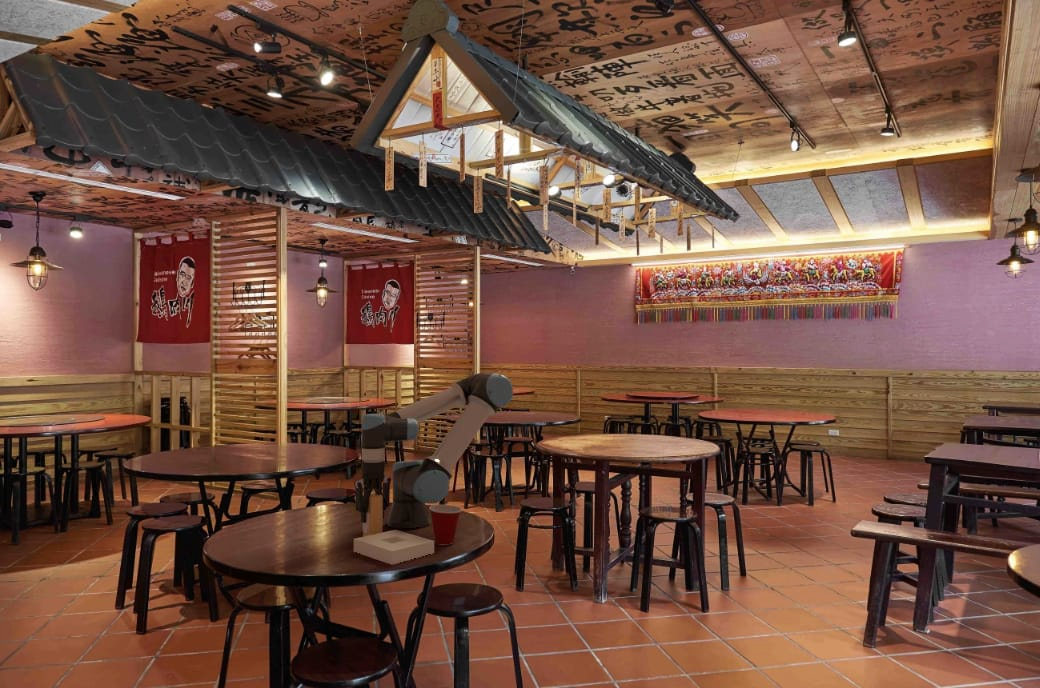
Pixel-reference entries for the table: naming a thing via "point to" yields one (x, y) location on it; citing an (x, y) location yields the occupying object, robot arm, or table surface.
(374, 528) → the plug block
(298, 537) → the table surface
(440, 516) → the plastic cup
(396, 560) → the socket plate
